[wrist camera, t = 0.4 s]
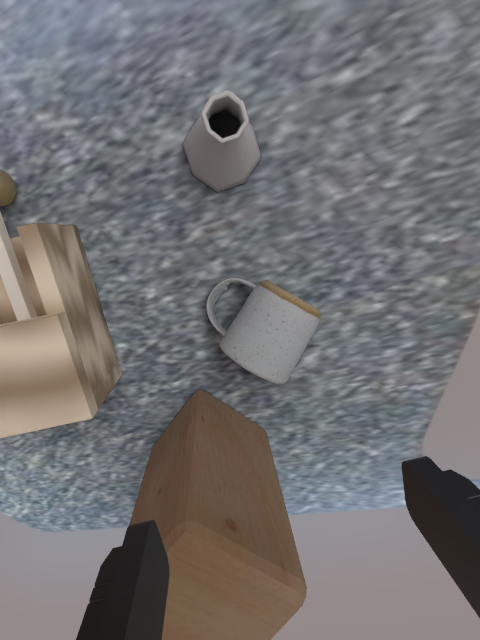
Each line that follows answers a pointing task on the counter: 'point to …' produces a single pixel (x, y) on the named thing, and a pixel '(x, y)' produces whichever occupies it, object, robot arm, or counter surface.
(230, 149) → the flask
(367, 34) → the counter surface
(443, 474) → the robot arm
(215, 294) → the ceramic mug
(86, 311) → the shelf
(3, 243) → the pull block
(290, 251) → the counter surface
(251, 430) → the wooden block
